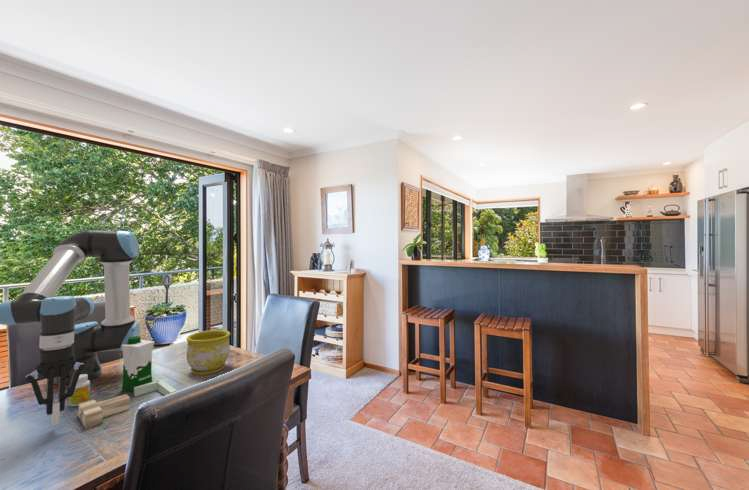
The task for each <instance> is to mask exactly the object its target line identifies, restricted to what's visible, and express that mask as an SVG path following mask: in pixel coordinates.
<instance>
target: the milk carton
mask: <svg viewBox="0 0 749 490" xmlns="http://www.w3.org/2000/svg"><path fill="white" fill-rule="evenodd" d="M154 345H155V341H154V340H153V341H152V340H145V339H141V336H140V335H139V336H136V337H130V338H128V343H127V344H125V345H122V350H121V351H122V355H123V362H122V363H123V368H122V384H121V386H122V387H121V390H122V391H126V392H134V387H137V386H140V385H144V384H147V383H150V382H153V374H152V365H153V364H152V361H153V359H152V358H153V357H152V356H153V348H154Z"/></svg>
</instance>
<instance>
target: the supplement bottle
mask: <svg viewBox="0 0 749 490" xmlns="http://www.w3.org/2000/svg"><path fill="white" fill-rule="evenodd" d="M87 379H88V375H87V374H82V375H79V378H78V381H77V384H76V387H75V390H74V393H73V396H71V397H68V399H69V401H68V402H69V403H68V404H69V406H70V407H78V404H79V403H83V402H86V401H90V400H91V380H87Z"/></svg>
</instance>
